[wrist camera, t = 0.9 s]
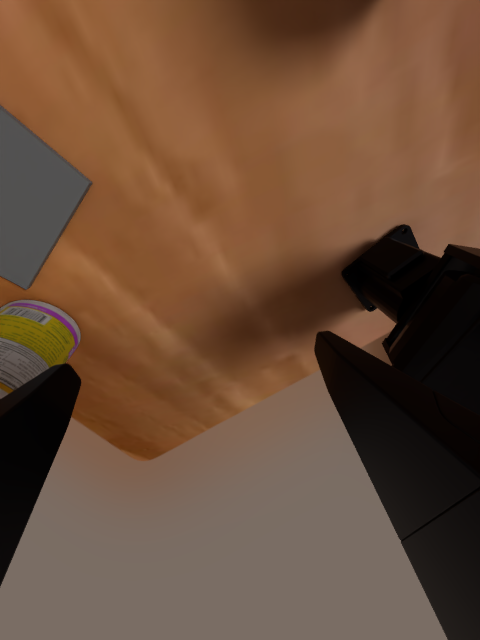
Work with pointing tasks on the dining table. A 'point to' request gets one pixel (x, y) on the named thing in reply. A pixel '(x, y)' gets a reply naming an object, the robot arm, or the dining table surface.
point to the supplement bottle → (33, 341)
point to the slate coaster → (32, 200)
